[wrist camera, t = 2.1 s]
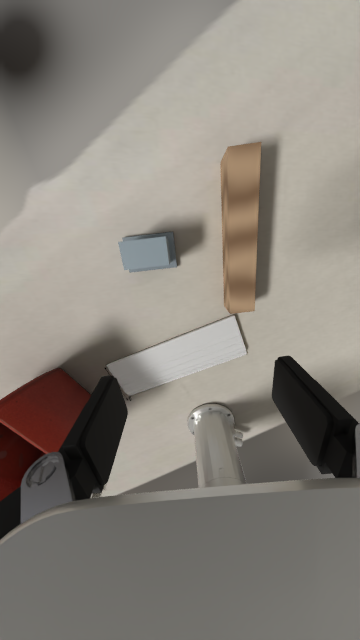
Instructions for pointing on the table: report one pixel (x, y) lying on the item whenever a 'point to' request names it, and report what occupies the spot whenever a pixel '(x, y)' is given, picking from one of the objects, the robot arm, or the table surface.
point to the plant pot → (36, 423)
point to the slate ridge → (148, 252)
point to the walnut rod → (240, 224)
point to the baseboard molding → (179, 356)
